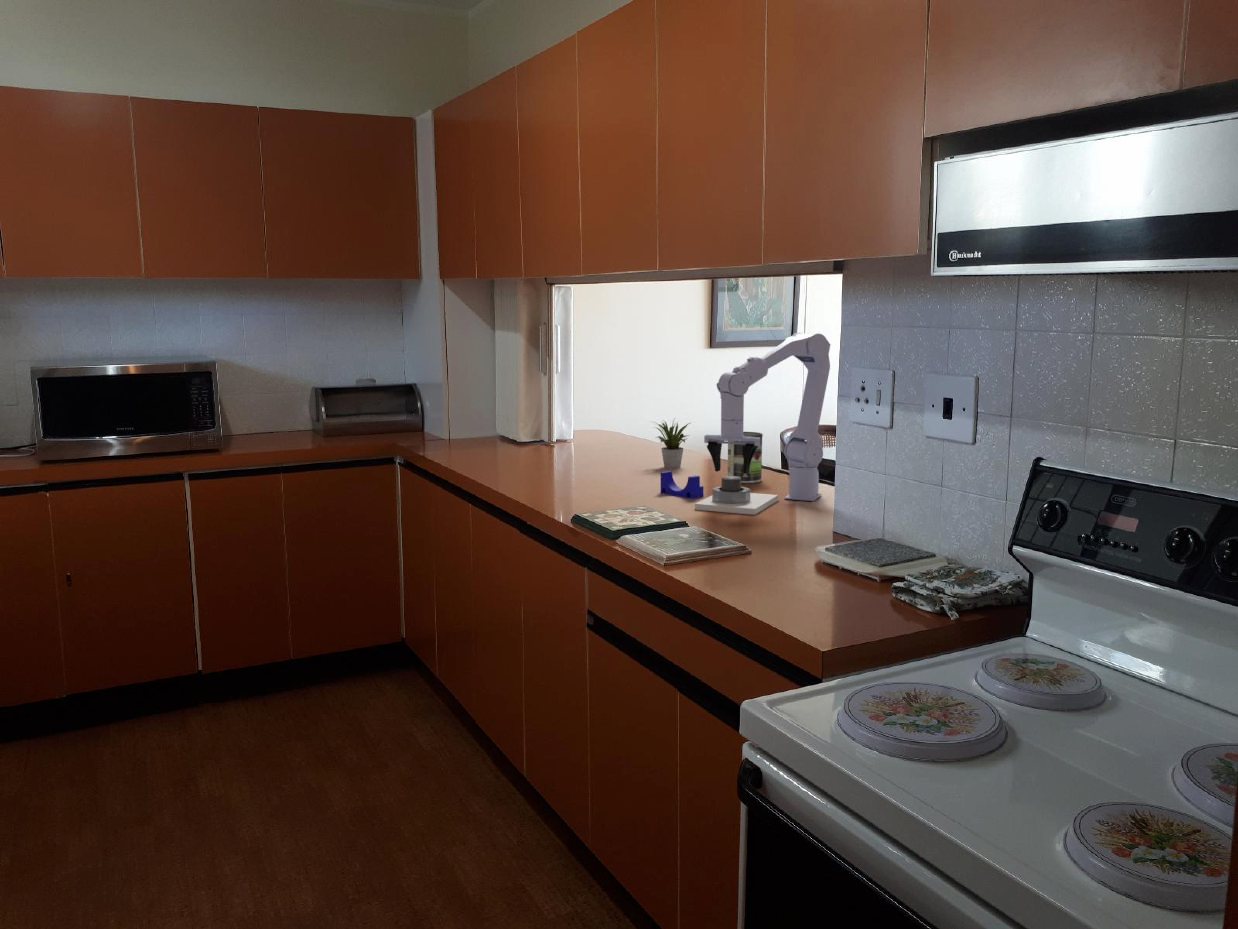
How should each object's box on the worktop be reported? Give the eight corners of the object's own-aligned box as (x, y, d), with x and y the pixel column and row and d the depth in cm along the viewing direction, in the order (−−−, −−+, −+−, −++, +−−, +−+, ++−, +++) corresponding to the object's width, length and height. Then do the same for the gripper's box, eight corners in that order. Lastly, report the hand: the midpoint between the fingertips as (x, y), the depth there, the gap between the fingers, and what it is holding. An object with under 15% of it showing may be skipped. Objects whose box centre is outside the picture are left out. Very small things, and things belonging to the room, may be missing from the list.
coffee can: (769, 480, 295) (770, 433, 292) (745, 484, 288) (745, 436, 286) (743, 476, 302) (744, 430, 300) (719, 480, 296) (720, 433, 294)
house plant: (640, 469, 315) (640, 418, 313) (652, 463, 328) (652, 414, 326) (684, 471, 311) (684, 420, 308) (694, 465, 324) (695, 415, 321)
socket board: (721, 496, 271) (721, 479, 271) (778, 500, 264) (778, 484, 264) (694, 509, 253) (694, 492, 253) (754, 514, 247) (755, 497, 246)
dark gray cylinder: (725, 498, 261) (725, 475, 260) (743, 499, 258) (743, 476, 258) (718, 501, 256) (718, 478, 255) (737, 502, 254) (737, 479, 253)
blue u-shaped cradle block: (703, 497, 271) (703, 475, 270) (692, 499, 268) (692, 477, 267) (671, 491, 279) (671, 470, 279) (660, 493, 276) (660, 472, 276)
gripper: (700, 419, 254) (699, 472, 256) (754, 422, 247) (753, 476, 250) (709, 417, 260) (709, 468, 262) (763, 419, 254) (762, 471, 256)
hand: (731, 471), depth 256 cm, fingers open, 7 cm apart
